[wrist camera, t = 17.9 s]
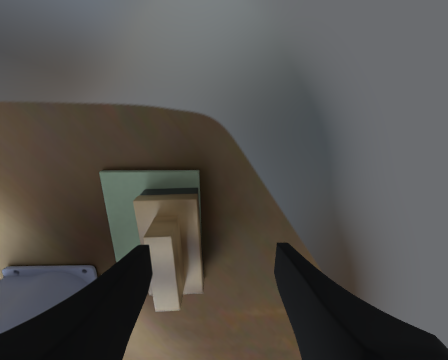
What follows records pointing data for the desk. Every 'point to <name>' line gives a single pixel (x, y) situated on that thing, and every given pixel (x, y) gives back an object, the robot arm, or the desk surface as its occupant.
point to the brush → (171, 243)
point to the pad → (125, 194)
